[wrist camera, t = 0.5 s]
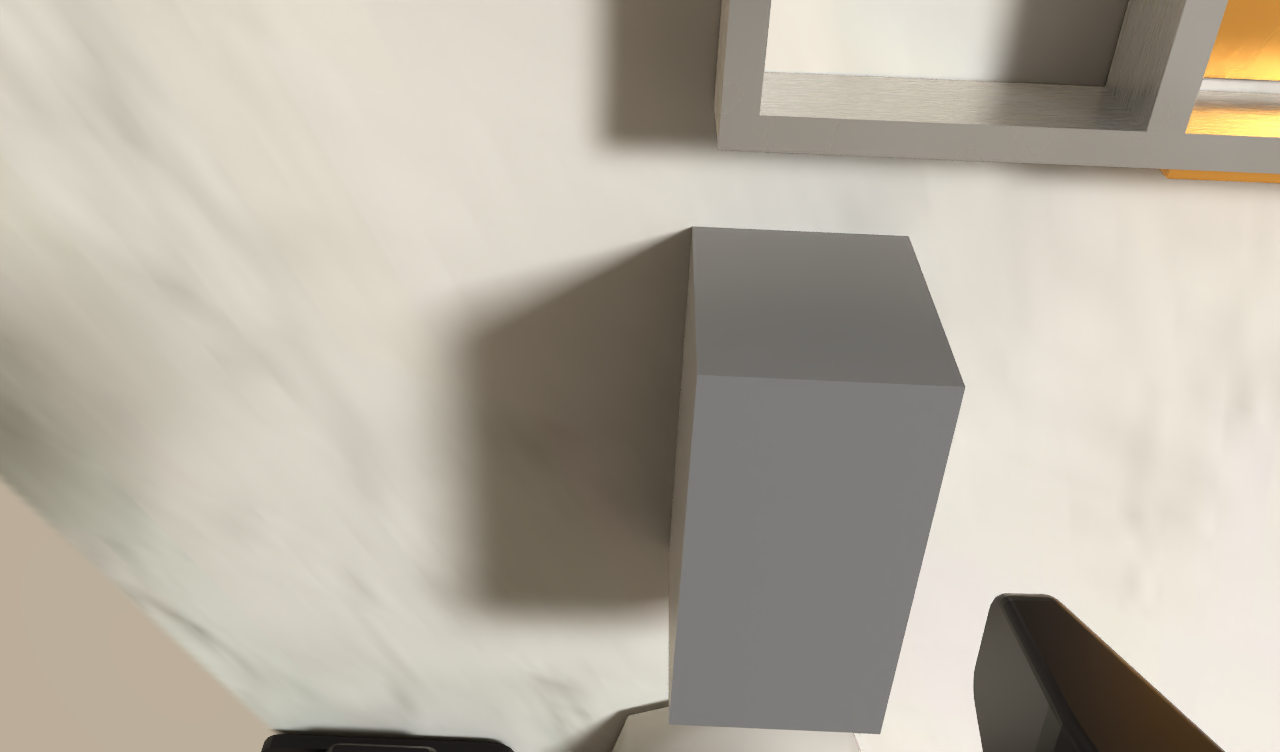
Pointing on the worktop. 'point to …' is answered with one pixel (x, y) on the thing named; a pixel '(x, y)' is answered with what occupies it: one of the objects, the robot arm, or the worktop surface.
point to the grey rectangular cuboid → (802, 476)
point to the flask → (722, 737)
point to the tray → (1030, 101)
